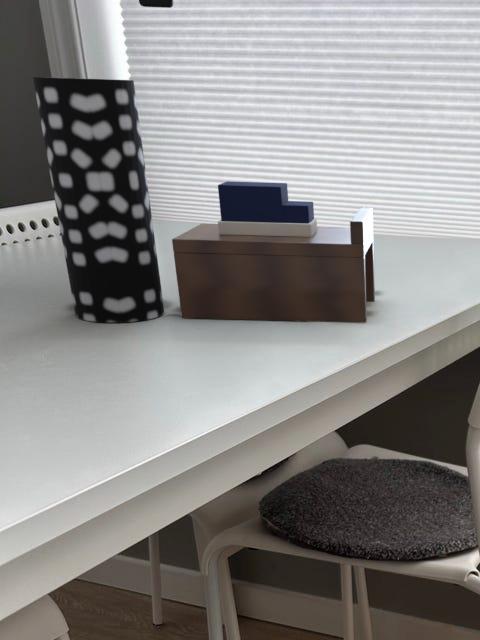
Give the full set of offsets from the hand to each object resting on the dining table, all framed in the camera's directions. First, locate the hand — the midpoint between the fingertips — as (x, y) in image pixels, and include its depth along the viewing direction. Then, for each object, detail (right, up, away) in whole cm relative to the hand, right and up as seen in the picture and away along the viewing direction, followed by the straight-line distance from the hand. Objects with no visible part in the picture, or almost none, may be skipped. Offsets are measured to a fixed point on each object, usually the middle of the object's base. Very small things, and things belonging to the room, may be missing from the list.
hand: (142, 3), depth 89 cm
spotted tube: (-4, -28, +5) cm, 28 cm away
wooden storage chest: (+11, -25, +9) cm, 29 cm away
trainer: (+11, -19, +6) cm, 23 cm away
